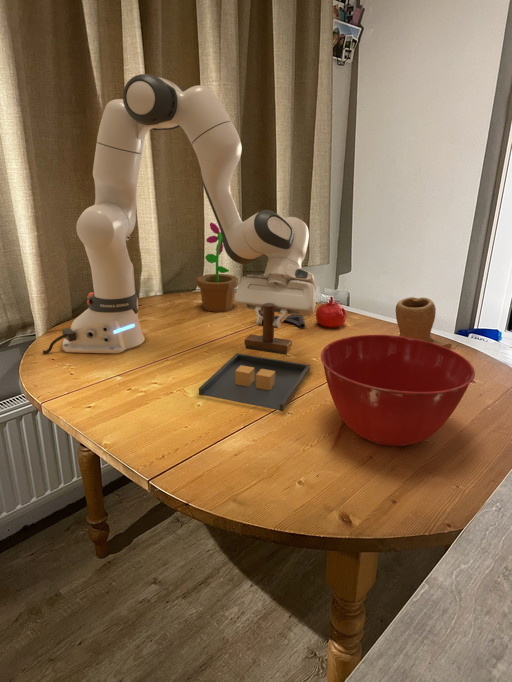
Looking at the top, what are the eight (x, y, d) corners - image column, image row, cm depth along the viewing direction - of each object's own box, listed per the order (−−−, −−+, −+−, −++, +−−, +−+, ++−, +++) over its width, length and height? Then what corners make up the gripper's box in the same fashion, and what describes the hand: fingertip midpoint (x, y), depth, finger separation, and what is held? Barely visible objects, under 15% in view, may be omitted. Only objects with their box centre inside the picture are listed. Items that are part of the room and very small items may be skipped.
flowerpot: (244, 304, 179) (245, 219, 168) (226, 315, 167) (225, 224, 156) (209, 299, 184) (207, 216, 173) (189, 310, 172) (186, 221, 161)
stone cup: (382, 349, 141) (388, 298, 135) (401, 338, 149) (407, 290, 144) (434, 364, 132) (443, 310, 126) (451, 351, 140) (460, 300, 134)
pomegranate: (321, 331, 154) (322, 302, 151) (310, 321, 163) (311, 293, 160) (350, 329, 156) (353, 300, 153) (338, 319, 165) (340, 291, 162)
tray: (236, 361, 132) (236, 353, 131) (309, 373, 126) (310, 365, 125) (198, 397, 113) (198, 388, 112) (282, 414, 106) (283, 404, 106)
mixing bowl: (335, 386, 119) (340, 325, 113) (463, 410, 109) (475, 344, 103) (298, 448, 95) (302, 374, 89) (459, 486, 84) (474, 405, 79)
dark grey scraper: (257, 313, 169) (257, 305, 168) (301, 314, 169) (301, 306, 168) (257, 328, 156) (257, 320, 155) (305, 329, 156) (305, 320, 155)
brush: (244, 349, 123) (244, 304, 119) (250, 343, 127) (250, 299, 122) (286, 355, 120) (288, 309, 115) (291, 349, 123) (293, 305, 119)
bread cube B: (240, 378, 121) (240, 365, 119) (254, 380, 120) (254, 367, 118) (235, 384, 118) (235, 370, 116) (248, 386, 116) (249, 373, 115)
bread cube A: (260, 381, 119) (261, 368, 118) (274, 384, 118) (275, 370, 117) (255, 388, 116) (255, 374, 115) (269, 390, 115) (270, 376, 113)
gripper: (239, 266, 126) (224, 315, 121) (318, 274, 119) (305, 325, 114) (246, 279, 131) (231, 326, 126) (322, 287, 125) (310, 337, 120)
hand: (267, 326), depth 120 cm, fingers closed on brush, 3 cm apart
